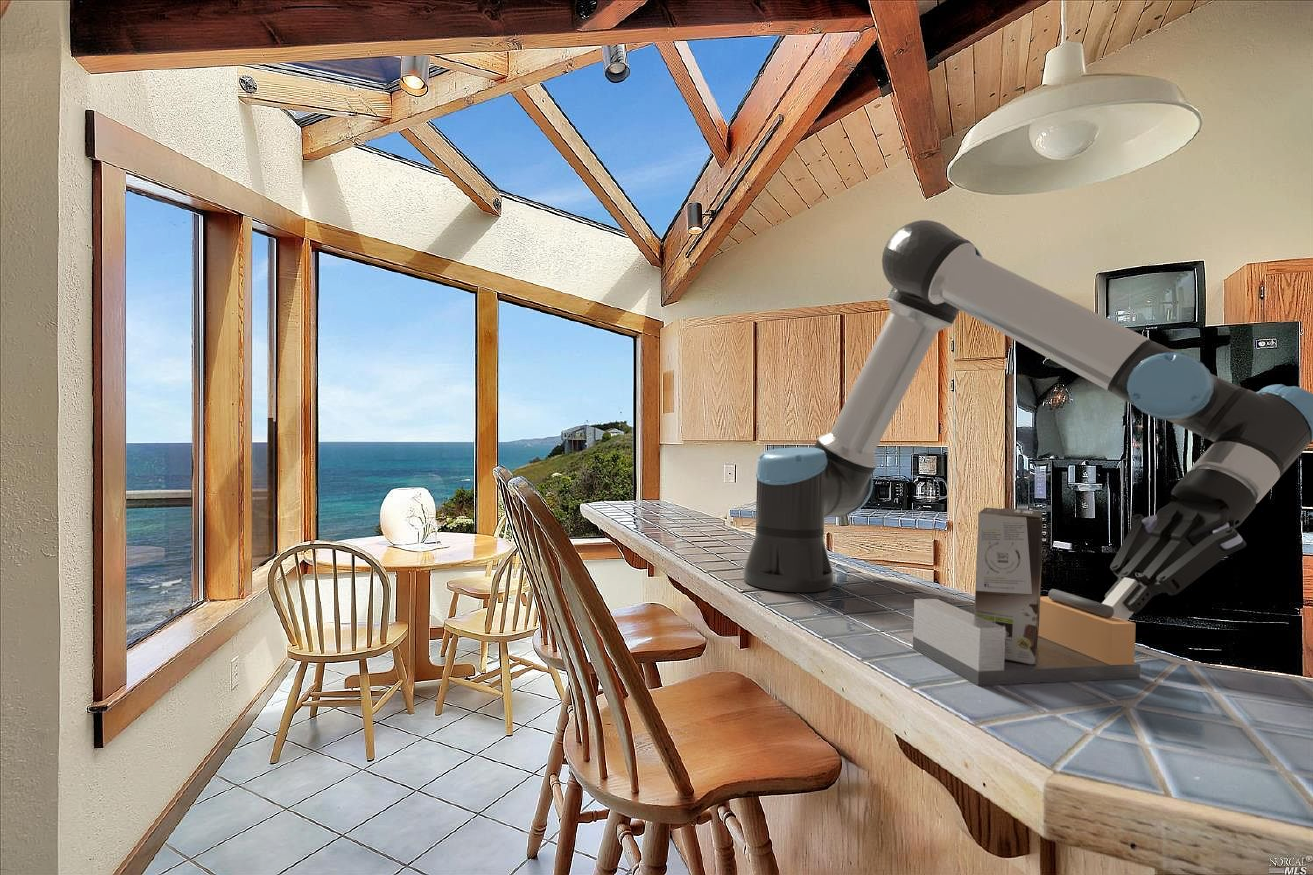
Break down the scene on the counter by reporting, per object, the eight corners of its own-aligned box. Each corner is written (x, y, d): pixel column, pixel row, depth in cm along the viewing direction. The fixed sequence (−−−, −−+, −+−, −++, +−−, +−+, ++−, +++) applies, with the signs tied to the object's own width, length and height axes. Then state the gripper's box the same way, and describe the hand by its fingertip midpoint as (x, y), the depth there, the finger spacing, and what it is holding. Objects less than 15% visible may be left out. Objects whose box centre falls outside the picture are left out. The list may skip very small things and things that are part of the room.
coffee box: (1037, 666, 71) (1042, 516, 71) (971, 654, 74) (976, 511, 74) (1039, 644, 79) (1044, 509, 79) (979, 634, 82) (984, 505, 82)
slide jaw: (1029, 632, 84) (1030, 585, 84) (1049, 631, 84) (1051, 584, 84) (1110, 665, 72) (1112, 610, 72) (1134, 664, 72) (1136, 610, 72)
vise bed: (912, 648, 81) (914, 599, 81) (1054, 643, 84) (1056, 596, 84) (978, 685, 69) (980, 628, 69) (1139, 678, 73) (1141, 623, 73)
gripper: (1298, 515, 76) (1172, 666, 73) (1187, 503, 89) (1076, 630, 85) (1263, 468, 75) (1133, 619, 72) (1155, 462, 87) (1041, 590, 84)
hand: (1102, 625), depth 79 cm, fingers closed
